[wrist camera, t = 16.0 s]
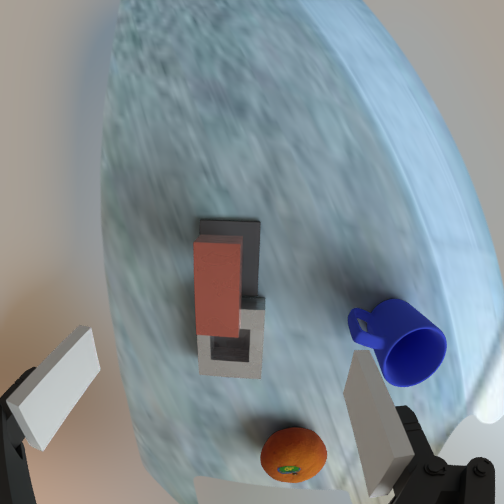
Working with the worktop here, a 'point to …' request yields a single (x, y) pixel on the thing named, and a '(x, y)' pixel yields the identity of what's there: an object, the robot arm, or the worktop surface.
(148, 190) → the worktop surface
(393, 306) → the mug
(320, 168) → the worktop surface
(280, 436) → the fruit
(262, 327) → the block
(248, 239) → the mat
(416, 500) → the robot arm
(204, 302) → the key
